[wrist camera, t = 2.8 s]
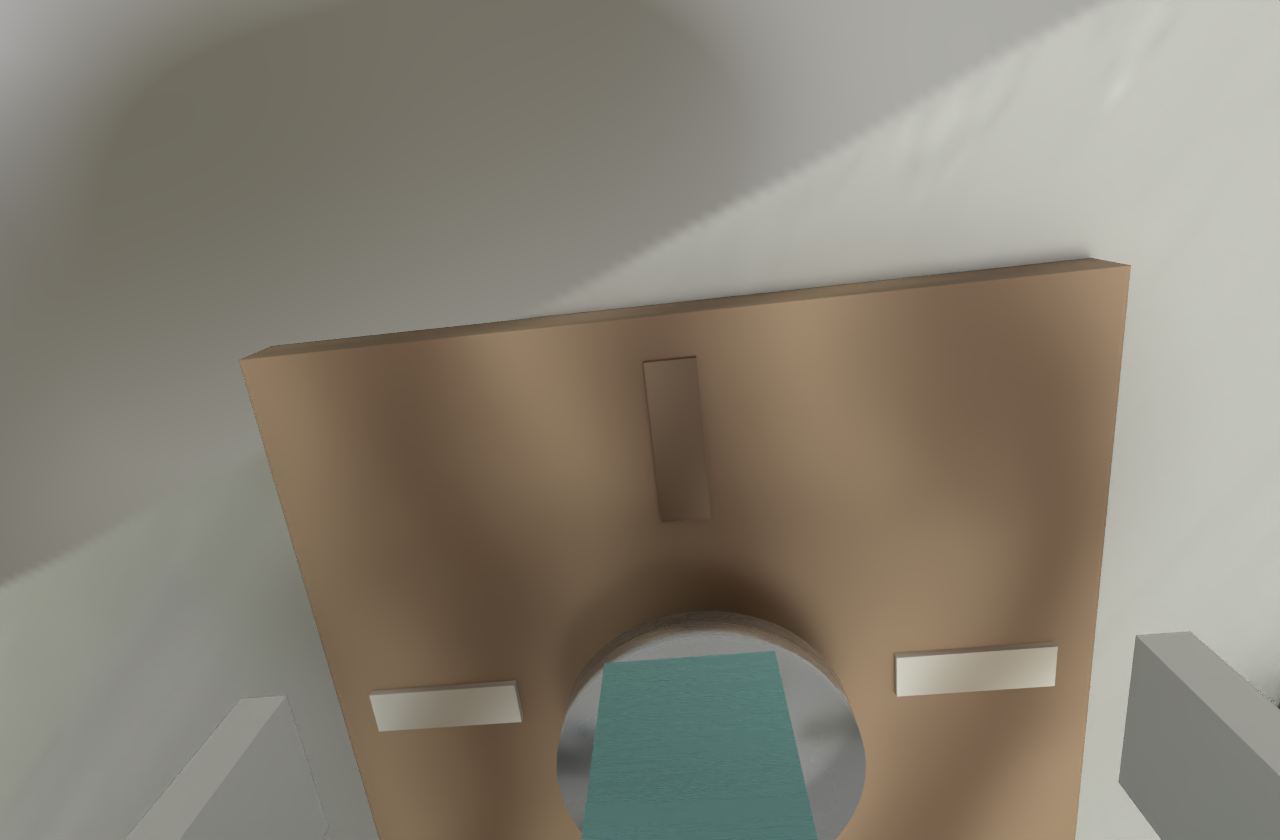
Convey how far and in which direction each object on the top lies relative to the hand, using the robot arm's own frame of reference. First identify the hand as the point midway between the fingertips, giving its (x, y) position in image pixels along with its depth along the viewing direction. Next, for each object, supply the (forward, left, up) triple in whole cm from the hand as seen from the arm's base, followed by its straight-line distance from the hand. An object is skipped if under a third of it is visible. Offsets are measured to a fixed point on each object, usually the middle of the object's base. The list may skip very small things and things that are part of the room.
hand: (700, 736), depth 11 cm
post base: (0, -5, -8) cm, 9 cm away
